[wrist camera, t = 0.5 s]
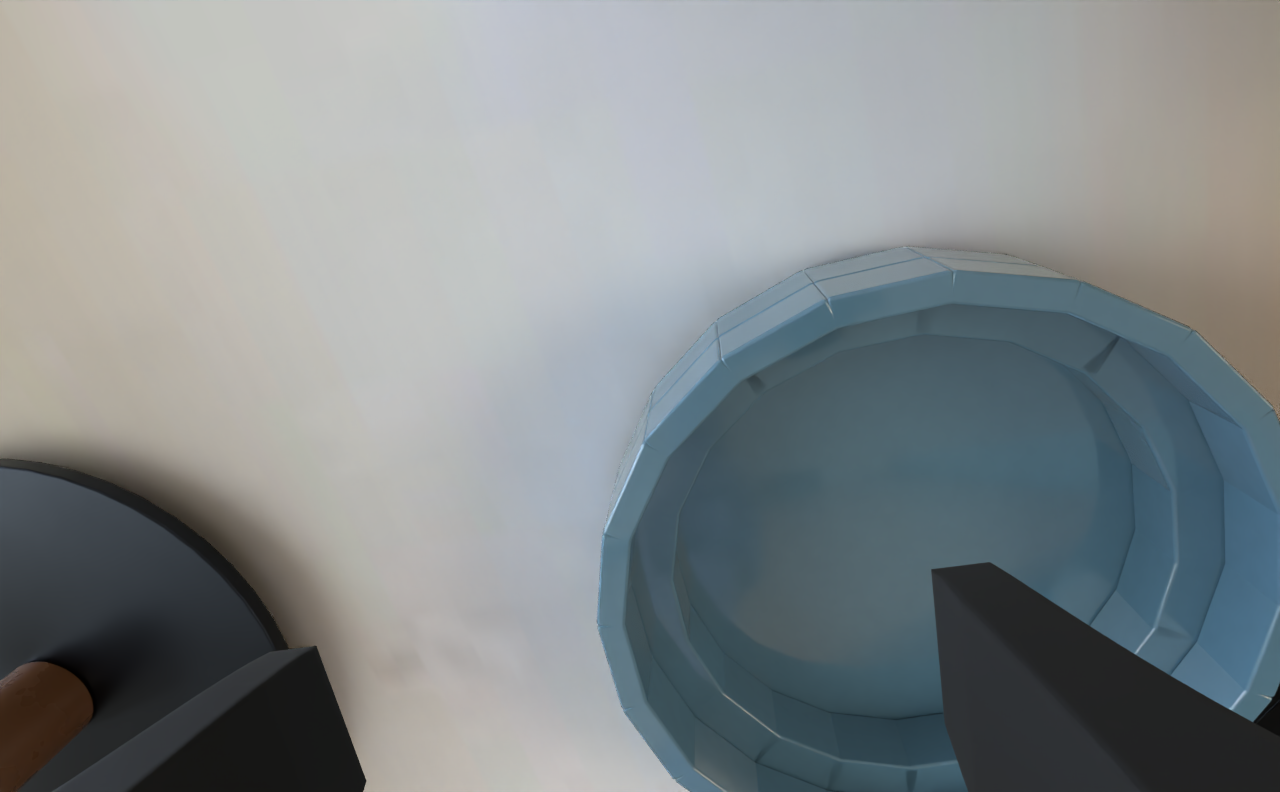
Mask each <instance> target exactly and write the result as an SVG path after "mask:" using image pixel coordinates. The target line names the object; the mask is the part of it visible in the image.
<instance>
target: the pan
mask: <svg viewBox="0 0 1280 792" xmlns="http://www.w3.org/2000/svg"><path fill="white" fill-rule="evenodd" d="M1254 723H1255V724H1257V725H1259V726H1261V727H1263V728H1265V729H1266V730H1268V731H1270V732H1272V733H1274V734H1275V735H1277V736H1279V737H1280V685H1279V687H1278V690H1277V692H1276V695H1275V696H1274V697H1272V701H1271V702H1270V703H1269V705H1268V706H1267V707H1266V708H1265V709H1264V710H1263V712H1262V713H1261V714H1260V715H1259V716H1258V717H1257V719H1256V720H1255V721H1254Z"/></svg>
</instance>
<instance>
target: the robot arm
mask: <svg viewBox="0 0 1280 792" xmlns="http://www.w3.org/2000/svg"><path fill="white" fill-rule="evenodd" d="M931 574H932V585H933V596H934V608H935V619H936V631H937V642H938V653H939V665H940V676H941V687H942V699H943V710H944V721H945V726H946V729H947V732H948V735H949V738H950V741H951V744H952V747H953V749H954V752H955V755H956V758H957V761H958V764H959V767H960V770H961V773H962V776H963V779H964V781H965V784H966V787H967V790H968V792H1280V737H1279V736H1277V735H1275V734H1274V733H1272V732H1270V731H1268V730H1266V729H1265V728H1263V727H1261V726H1259V725H1257V724H1255V723H1254V722H1252V721H1250V720H1248V719H1246V718H1244V717H1243V716H1241V715H1239V714H1237V713H1235V712H1234V711H1232V710H1230V709H1228V708H1226V707H1224V706H1223V705H1221V704H1219V703H1217V702H1215V701H1213V700H1212V699H1210V698H1208V697H1206V696H1205V695H1203V694H1201V693H1200V692H1198V691H1196V690H1194V689H1193V688H1191V687H1189V686H1188V685H1186V684H1184V683H1182V682H1181V681H1179V680H1177V679H1175V678H1174V677H1172V676H1170V675H1169V674H1167V673H1165V672H1164V671H1162V670H1160V669H1159V668H1157V667H1155V666H1154V665H1152V664H1150V663H1149V662H1147V661H1145V660H1144V659H1142V658H1140V657H1139V656H1137V655H1135V654H1134V653H1132V652H1131V651H1129V650H1127V649H1126V648H1124V647H1122V646H1121V645H1119V644H1118V643H1116V642H1114V641H1113V640H1111V639H1110V638H1108V637H1106V636H1105V635H1103V634H1102V633H1100V632H1098V631H1097V630H1095V629H1094V628H1092V627H1091V626H1089V625H1087V624H1086V623H1084V622H1083V621H1081V620H1080V619H1078V618H1077V617H1075V616H1073V615H1072V614H1070V613H1069V612H1067V611H1066V610H1064V609H1063V608H1061V607H1059V606H1058V605H1056V604H1055V603H1053V602H1052V601H1050V600H1049V599H1047V598H1046V597H1044V596H1043V595H1041V594H1039V593H1038V592H1036V591H1035V590H1033V589H1032V588H1030V587H1029V586H1027V585H1026V584H1024V583H1023V582H1021V581H1019V580H1018V579H1016V578H1015V577H1013V576H1012V575H1010V574H1009V573H1007V572H1005V571H1004V570H1002V569H1001V568H999V567H997V566H996V565H994V564H992V563H991V562H986V563H977V564H969V565H961V566H953V567H945V568H937V569H931ZM365 784H366V779H365V776H364V773H363V771H362V768H361V765H360V763H359V760H358V757H357V754H356V752H355V749H354V746H353V744H352V741H351V738H350V736H349V733H348V730H347V728H346V725H345V722H344V719H343V717H342V714H341V711H340V709H339V706H338V703H337V701H336V698H335V695H334V692H333V690H332V687H331V684H330V682H329V679H328V676H327V674H326V671H325V668H324V666H323V663H322V660H321V657H320V655H319V652H318V649H317V647H316V646H312V647H304V648H296V649H288V650H280V651H272V652H269V653H267V654H265V655H263V656H261V657H259V658H257V659H256V660H254V661H252V662H250V663H248V664H246V665H245V666H243V667H241V668H240V669H238V670H236V671H235V672H233V673H231V674H230V675H228V676H226V677H225V678H223V679H222V680H220V681H218V682H217V683H215V684H214V685H212V686H211V687H209V688H208V689H206V690H204V691H203V692H201V693H200V694H198V695H197V696H195V697H194V698H192V699H191V700H189V701H188V702H186V703H185V704H183V705H182V706H180V707H179V708H177V709H176V710H174V711H173V712H171V713H170V714H168V715H167V716H165V717H164V718H162V719H161V720H159V721H158V722H156V723H155V724H153V725H152V726H150V727H149V728H147V729H146V730H144V731H143V732H141V733H140V734H138V735H137V736H135V737H134V738H132V739H131V740H129V741H128V742H126V743H125V744H123V745H122V746H120V747H119V748H117V749H116V750H114V751H113V752H111V753H110V754H108V755H107V756H105V757H104V758H102V759H101V760H99V761H98V762H96V763H95V764H93V765H92V766H90V767H89V768H87V769H86V770H84V771H83V772H81V773H80V774H78V775H77V776H75V777H74V778H72V779H71V780H69V781H68V782H66V783H65V784H63V785H62V786H60V787H58V788H57V789H55V790H54V791H52V792H363V790H364V787H365Z"/></svg>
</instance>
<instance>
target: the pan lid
mask: <svg viewBox="0 0 1280 792" xmlns="http://www.w3.org/2000/svg"><path fill="white" fill-rule="evenodd" d="M288 649H289V648H288V645H287V643H286V642H285V640H284V638H283V636H282V634H281V632H280V630H279V628H278V626H277V624H276V623H275V621H274V619H273V617H272V616H271V614H270V613H269V611H268V610H267V608H266V607H265V605H264V604H263V603H262V601H261V600H260V598H259V597H258V595H257V594H256V592H255V591H254V590H253V589H252V587H251V586H250V585H249V584H248V583H247V582H246V580H245V579H244V578H243V577H242V576H241V575H240V574H239V572H238V571H237V570H236V569H235V568H234V567H233V565H232V564H231V563H230V562H228V561H227V560H226V559H225V558H224V557H223V556H222V555H221V554H220V553H219V552H218V551H217V550H216V549H215V548H213V547H212V546H211V545H210V544H209V543H208V542H207V541H206V540H205V539H203V538H202V537H201V536H199V535H198V534H197V533H196V532H194V531H193V530H192V529H190V528H189V527H188V526H186V525H185V524H184V523H182V522H181V521H180V520H178V519H177V518H176V517H174V516H172V515H171V514H169V513H167V512H166V511H164V510H162V509H161V508H159V507H157V506H156V505H154V504H152V503H151V502H149V501H148V500H146V499H144V498H142V497H140V496H138V495H136V494H134V493H132V492H129V491H127V490H125V489H123V488H121V487H119V486H117V485H115V484H113V483H110V482H107V481H105V480H102V479H99V478H96V477H93V476H90V475H87V474H85V473H82V472H79V471H76V470H72V469H67V468H63V467H59V466H54V465H50V464H46V463H41V462H32V461H23V460H14V459H0V792H52V791H54V790H55V789H57V788H58V787H60V786H62V785H63V784H65V783H66V782H68V781H69V780H71V779H72V778H74V777H75V776H77V775H78V774H80V773H81V772H83V771H84V770H86V769H87V768H89V767H90V766H92V765H93V764H95V763H96V762H98V761H99V760H101V759H102V758H104V757H105V756H107V755H108V754H110V753H111V752H113V751H114V750H116V749H117V748H119V747H120V746H122V745H123V744H125V743H126V742H128V741H129V740H131V739H132V738H134V737H135V736H137V735H138V734H140V733H141V732H143V731H144V730H146V729H147V728H149V727H150V726H152V725H153V724H155V723H156V722H158V721H159V720H161V719H162V718H164V717H165V716H167V715H168V714H170V713H171V712H173V711H174V710H176V709H177V708H179V707H180V706H182V705H183V704H185V703H186V702H188V701H189V700H191V699H192V698H194V697H195V696H197V695H198V694H200V693H201V692H203V691H204V690H206V689H208V688H209V687H211V686H212V685H214V684H215V683H217V682H218V681H220V680H222V679H223V678H225V677H226V676H228V675H230V674H231V673H233V672H235V671H236V670H238V669H240V668H241V667H243V666H245V665H246V664H248V663H250V662H252V661H254V660H256V659H257V658H259V657H261V656H263V655H265V654H267V653H269V652H272V651H280V650H288Z"/></svg>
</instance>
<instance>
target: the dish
mask: <svg viewBox="0 0 1280 792" xmlns="http://www.w3.org/2000/svg"><path fill="white" fill-rule="evenodd" d="M986 562H991V563H992V564H994V565H996V566H997V567H999V568H1001V569H1002V570H1004V571H1005V572H1007V573H1009V574H1010V575H1012V576H1013V577H1015V578H1016V579H1018V580H1019V581H1021V582H1023V583H1024V584H1026V585H1027V586H1029V587H1030V588H1032V589H1033V590H1035V591H1036V592H1038V593H1039V594H1041V595H1043V596H1044V597H1046V598H1047V599H1049V600H1050V601H1052V602H1053V603H1055V604H1056V605H1058V606H1059V607H1061V608H1063V609H1064V610H1066V611H1067V612H1069V613H1070V614H1072V615H1073V616H1075V617H1077V618H1078V619H1080V620H1081V621H1083V622H1084V623H1086V624H1087V625H1089V626H1091V627H1092V628H1094V629H1095V630H1097V631H1098V632H1100V633H1102V634H1103V635H1105V636H1106V637H1108V638H1110V639H1111V640H1113V641H1114V642H1116V643H1118V644H1119V645H1121V646H1122V647H1124V648H1126V649H1127V650H1129V651H1131V652H1132V653H1134V654H1135V655H1137V656H1139V657H1140V658H1142V659H1144V660H1145V661H1147V662H1149V663H1150V664H1152V665H1154V666H1155V667H1157V668H1159V669H1160V670H1162V671H1164V672H1165V673H1167V674H1169V675H1170V676H1172V677H1174V678H1175V679H1177V680H1179V681H1181V682H1182V683H1184V684H1186V685H1188V686H1189V687H1191V688H1193V689H1194V690H1196V691H1198V692H1200V693H1201V694H1203V695H1205V696H1206V697H1208V698H1210V699H1212V700H1213V701H1215V702H1217V703H1219V704H1221V705H1223V706H1224V707H1226V708H1228V709H1230V710H1232V711H1234V712H1235V713H1237V714H1239V715H1241V716H1243V717H1244V718H1246V719H1248V720H1250V721H1252V722H1254V721H1255V720H1256V719H1257V717H1258V716H1259V715H1260V714H1261V713H1262V712H1263V710H1264V709H1265V708H1266V707H1267V706H1268V705H1269V703H1270V702H1271V701H1272V697H1274V696H1275V695H1276V692H1277V690H1278V687H1279V685H1280V422H1279V419H1278V417H1277V414H1276V412H1275V410H1273V406H1272V405H1271V404H1270V403H1269V402H1268V401H1267V400H1266V399H1265V398H1264V397H1263V396H1262V395H1261V394H1260V393H1259V392H1258V391H1257V390H1256V389H1255V388H1254V387H1253V386H1252V385H1251V384H1250V383H1249V382H1248V381H1247V380H1246V379H1245V378H1244V377H1243V376H1242V375H1241V374H1240V373H1239V372H1238V371H1237V370H1236V369H1235V368H1234V367H1232V366H1231V365H1230V364H1229V363H1228V362H1227V361H1226V360H1225V359H1224V358H1223V357H1222V356H1221V355H1220V354H1219V353H1218V352H1217V351H1216V350H1215V349H1214V348H1213V347H1212V346H1211V345H1210V344H1209V343H1208V342H1207V341H1206V340H1205V339H1204V338H1203V337H1202V336H1201V335H1200V334H1199V333H1198V332H1197V331H1196V330H1193V329H1191V328H1190V327H1189V326H1187V325H1184V324H1182V323H1180V322H1177V321H1175V320H1173V319H1171V318H1168V317H1166V316H1164V315H1161V314H1159V313H1157V312H1154V311H1152V310H1150V309H1147V308H1145V307H1143V306H1141V305H1138V304H1136V303H1134V302H1131V301H1129V300H1127V299H1124V298H1122V297H1120V296H1117V295H1115V294H1113V293H1111V292H1108V291H1106V290H1104V289H1101V288H1099V287H1097V286H1094V285H1092V284H1090V283H1087V282H1085V281H1082V280H1080V279H1077V278H1074V277H1071V276H1068V275H1065V274H1063V273H1060V272H1057V271H1054V270H1051V269H1048V268H1045V267H1043V266H1040V265H1037V264H1034V263H1031V262H1028V261H1025V260H1023V259H1020V258H1017V257H1014V256H1010V255H1007V254H998V253H986V252H973V251H961V250H949V249H936V248H924V247H911V246H907V247H899V248H894V249H890V250H885V251H881V252H877V253H872V254H868V255H864V256H859V257H855V258H851V259H846V260H842V261H838V262H833V263H829V264H825V265H820V266H816V267H811V268H807V269H805V270H804V271H799V272H798V273H796V274H794V275H792V276H791V277H789V278H787V279H786V280H784V281H782V282H780V283H779V284H777V285H775V286H774V287H772V288H770V289H768V290H767V291H765V292H763V293H761V294H760V295H758V296H756V297H755V298H753V299H751V300H749V301H748V302H746V303H744V304H743V305H741V306H739V307H737V308H736V309H734V310H732V311H730V312H729V313H727V314H725V315H724V316H722V317H720V318H718V319H717V322H714V323H713V324H712V325H711V326H710V327H709V328H708V329H707V330H706V332H705V333H704V334H703V335H702V336H701V337H700V338H699V339H698V340H697V342H696V343H695V344H694V345H693V346H692V347H691V348H690V349H689V350H688V351H687V353H686V354H685V355H684V356H683V357H682V358H681V359H680V360H679V361H678V362H677V364H676V365H675V366H674V367H673V368H672V369H671V370H670V371H669V372H668V373H667V375H666V376H665V377H664V378H663V379H662V380H661V381H660V382H659V383H658V385H657V386H656V387H655V388H654V391H653V392H652V393H651V395H650V397H649V399H648V402H647V404H646V406H645V409H644V411H643V413H642V415H641V418H640V420H639V422H638V425H637V427H636V429H635V432H634V434H633V436H632V438H631V441H630V443H629V445H628V448H627V450H626V452H625V454H624V457H623V459H622V461H621V464H620V466H619V470H618V474H617V478H616V482H615V486H614V490H613V494H612V498H611V502H610V506H609V510H608V514H607V518H606V522H605V526H604V530H603V535H602V546H601V562H600V578H599V594H598V609H597V624H598V631H599V635H600V638H601V641H602V644H603V648H604V651H605V654H606V658H607V661H608V664H609V667H610V671H611V674H612V677H613V681H614V684H615V687H616V691H617V694H618V697H619V700H620V704H621V707H622V708H623V711H624V713H625V714H626V716H627V717H628V718H629V720H630V721H631V722H632V724H633V725H634V727H635V728H636V729H637V731H638V732H639V733H640V735H641V736H642V737H643V739H644V740H645V741H646V743H647V744H648V746H649V747H650V748H651V750H652V751H653V752H654V754H655V755H656V756H657V758H658V759H659V761H660V762H661V763H662V765H663V766H664V767H665V769H666V770H667V771H668V773H669V774H670V775H671V777H672V778H673V779H675V780H676V782H677V783H679V784H680V785H681V786H683V787H684V788H685V789H687V790H688V791H690V792H968V790H967V787H966V784H965V781H964V779H963V776H962V773H961V770H960V767H959V764H958V761H957V758H956V755H955V752H954V749H953V747H952V744H951V741H950V738H949V735H948V732H947V729H946V726H945V721H944V710H943V699H942V687H941V676H940V665H939V653H938V642H937V631H936V619H935V608H934V596H933V585H932V574H931V569H937V568H945V567H953V566H961V565H969V564H977V563H986Z"/></svg>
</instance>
